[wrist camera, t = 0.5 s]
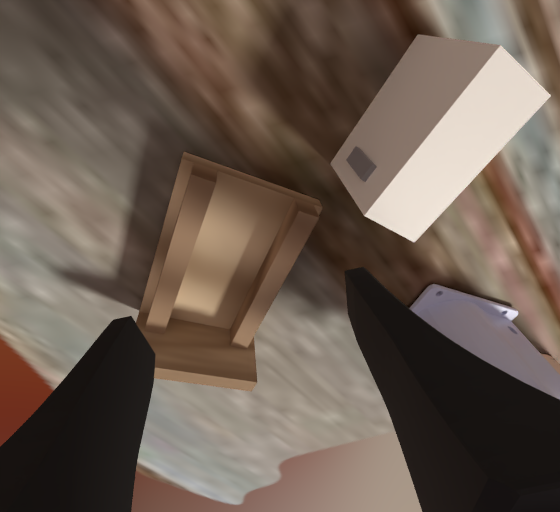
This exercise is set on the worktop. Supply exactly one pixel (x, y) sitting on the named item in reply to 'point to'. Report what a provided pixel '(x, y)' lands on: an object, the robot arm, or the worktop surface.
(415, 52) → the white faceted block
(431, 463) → the robot arm
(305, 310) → the worktop surface
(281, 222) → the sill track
